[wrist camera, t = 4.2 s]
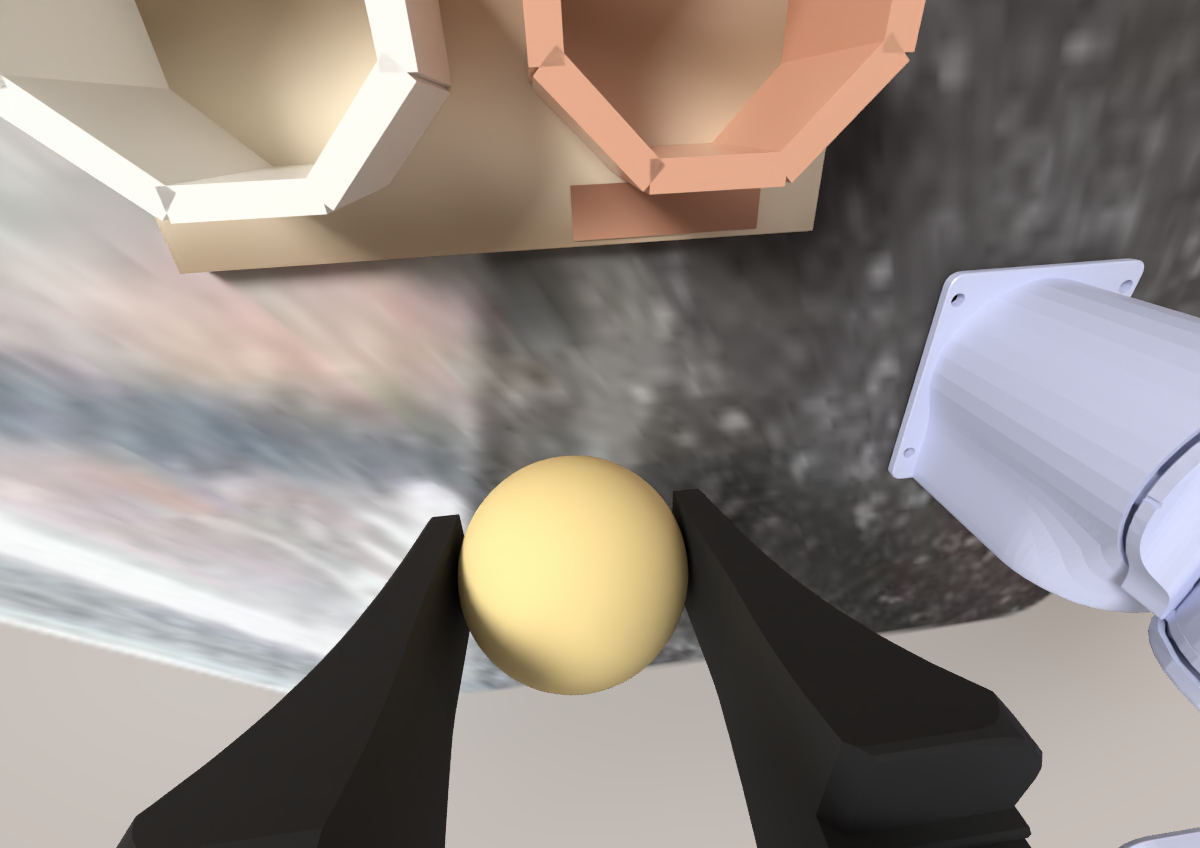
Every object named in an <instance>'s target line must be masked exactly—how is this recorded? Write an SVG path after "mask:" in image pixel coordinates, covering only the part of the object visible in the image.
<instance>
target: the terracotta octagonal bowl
mask: <svg viewBox="0 0 1200 848" xmlns="http://www.w3.org/2000/svg"><path fill="white" fill-rule="evenodd" d="M925 1H926V0H789V1H788V10H787V18H786V27H785V36H784V45H783V53H782V62H781V64H780V66H779V67H778V68H777V69H776V70H775V71H774V72H773V74H772V75H771V76H770V77H769V78H768V79H767V80H766V81H765V83H764V84H763V85H762V86H761V87H760V88H759V89H758V91H757V92H756V93H755V94H754V95H753V96H752V97H751V99H750V100H749V101H748V102H747V103H746V104H745V105H744V107H743V108H742V109H741V110H740V111H739V112H738V113H737V114H736V116H735V117H734V118H733V119H732V120H731V121H730V122H729V124H728V125H727V126H726V127H725V128H724V129H723V130H722V132H721V133H720V134H719V135H718V136H717V137H716V138H715V140H714V141H713V142H712V143H697V144H679V145H660V146H648V145H647V144H646V143H645V142H644V141H643V140H642V139H641V138H640V137H639V135H638V134H637V133H636V132H635V131H634V130H633V129H632V128H631V127H630V126H629V124H628V123H627V122H626V121H625V120H624V119H623V118H622V117H621V116H620V114H619V113H618V112H617V111H616V110H615V109H614V108H613V107H612V106H611V105H610V103H609V102H608V101H607V100H606V99H605V98H604V97H603V96H602V95H601V93H600V92H599V91H598V90H597V89H596V88H595V87H594V86H593V85H592V84H591V82H590V81H589V80H588V79H587V78H586V77H585V76H584V75H583V74H582V72H581V71H580V70H579V69H578V68H577V67H576V66H575V65H574V64H573V63H572V61H571V60H570V59H569V58H568V57H567V56H566V55H565V54H564V45H563V29H562V13H561V0H521V2H522V13H523V24H524V34H525V45H526V56H527V66H528V77H529V83H532V90H533V91H534V92H535V93H536V94H537V95H538V96H539V97H540V98H541V99H542V100H543V101H544V102H545V103H546V104H547V105H548V106H549V107H550V108H551V109H552V110H553V111H554V112H555V113H556V114H557V116H558V117H559V118H560V119H561V120H562V121H563V122H564V123H565V124H566V125H567V126H568V127H569V128H570V129H571V130H572V131H573V132H574V133H575V134H576V135H577V136H578V137H579V138H580V139H581V140H582V141H583V142H584V143H585V144H586V145H587V146H588V147H589V149H590V150H591V151H592V152H593V153H594V154H595V155H596V156H597V157H598V158H599V159H600V160H601V161H602V162H603V163H604V164H605V165H606V166H607V167H608V168H609V169H610V170H611V171H612V172H613V173H615V174H616V175H618V176H619V177H621V178H622V179H624V180H625V181H627V182H629V183H630V184H632V185H633V186H635V187H636V188H638V189H639V190H641V191H642V192H644V191H645V192H647V193H648V194H650V195H651V194H668V193H684V192H701V191H717V190H733V189H750V188H766V187H783V186H785V183H786V182H790V183H792V182H793V181H794V180H795V179H796V178H797V177H798V176H799V175H800V174H801V173H802V172H803V171H804V170H805V169H806V168H807V167H808V166H809V165H810V164H811V162H812V161H813V160H814V159H815V158H816V157H817V156H818V155H819V154H820V153H821V152H822V151H823V150H824V149H825V148H826V147H827V146H828V145H829V144H830V143H831V142H832V141H833V140H834V139H835V138H836V137H837V135H838V134H839V133H840V132H841V131H842V130H843V129H844V128H845V127H846V126H847V125H848V124H849V123H850V122H851V121H852V120H853V119H854V118H855V117H856V116H857V115H858V114H859V113H860V112H861V111H862V110H863V108H864V107H865V106H866V105H867V104H868V103H869V102H870V101H871V100H872V99H873V98H874V97H875V96H876V95H877V94H878V93H879V92H880V91H881V90H882V89H883V88H884V87H885V86H886V85H887V84H888V83H889V81H890V80H891V79H892V78H893V77H894V76H895V75H896V74H897V73H898V72H899V71H900V70H901V69H902V68H903V67H904V66H905V65H906V64H907V63H908V62H909V59H908V57H907V56H906V54H905V53H910V52H914V50H915V46H916V41H917V37H918V32H919V28H920V23H921V19H922V14H923V10H924V5H925Z"/></svg>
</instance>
